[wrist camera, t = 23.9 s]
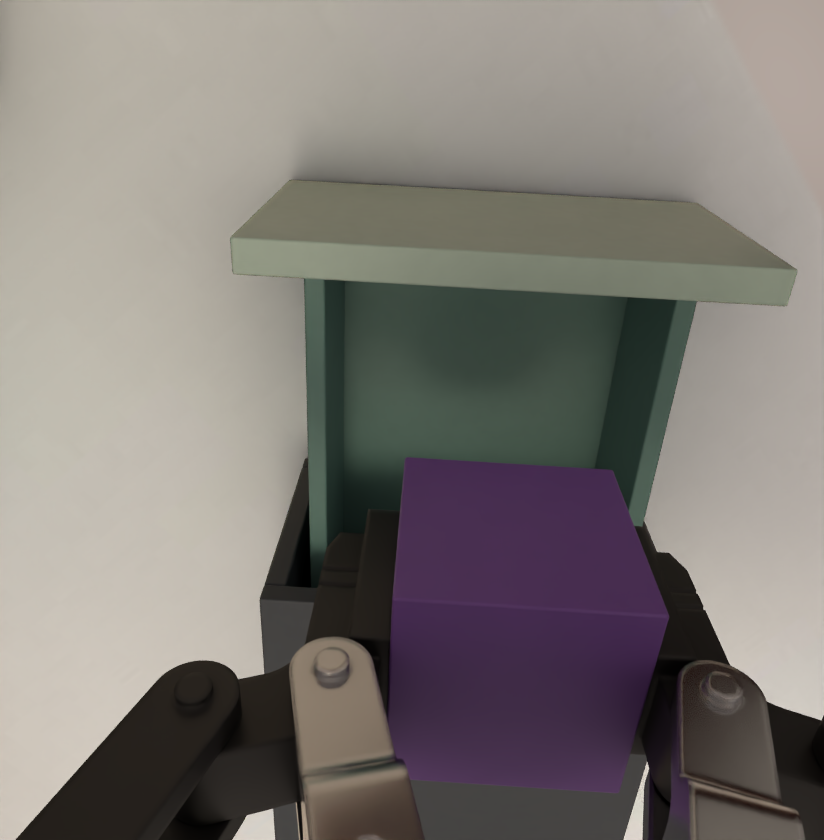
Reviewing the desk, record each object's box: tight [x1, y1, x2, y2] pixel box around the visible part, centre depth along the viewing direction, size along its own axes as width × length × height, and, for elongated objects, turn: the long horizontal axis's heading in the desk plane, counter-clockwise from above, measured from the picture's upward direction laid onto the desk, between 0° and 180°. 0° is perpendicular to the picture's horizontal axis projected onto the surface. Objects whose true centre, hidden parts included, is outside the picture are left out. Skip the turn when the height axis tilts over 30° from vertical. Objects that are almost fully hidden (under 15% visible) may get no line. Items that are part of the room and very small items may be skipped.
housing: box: [260, 459, 657, 840], centre depth 25 cm, size 14×11×7 cm
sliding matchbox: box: [230, 180, 797, 588], centre depth 23 cm, size 25×12×9 cm, turn 177°
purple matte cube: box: [387, 457, 669, 793], centre depth 13 cm, size 4×4×4 cm
